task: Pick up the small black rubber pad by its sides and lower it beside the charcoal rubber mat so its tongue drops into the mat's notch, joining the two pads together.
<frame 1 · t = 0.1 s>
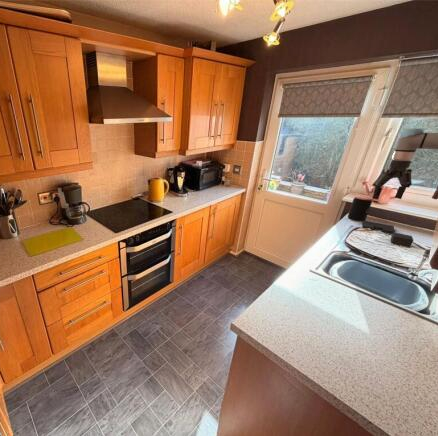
hand: (386, 198, 129), 30 cm above the worktop, tool pointing down, fingers open, 13 cm apart
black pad: (399, 243, 142), on the worktop
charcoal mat: (377, 228, 163), on the worktop
coffee jar: (356, 219, 180), on the worktop
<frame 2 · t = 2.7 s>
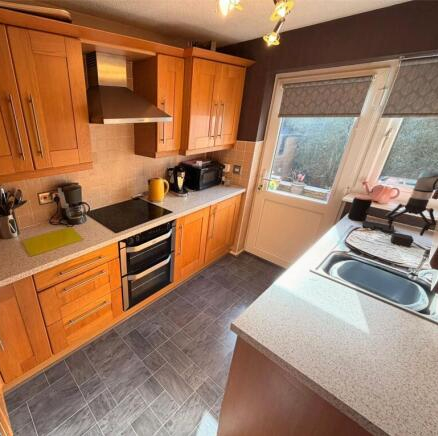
hand: (404, 231, 139), 8 cm above the worktop, tool pointing down, fingers open, 13 cm apart
nothing on the worktop moved.
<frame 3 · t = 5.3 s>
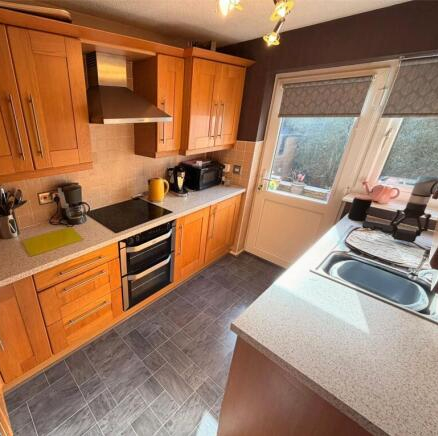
hand: (403, 238, 140), 4 cm above the worktop, tool pointing down, fingers closed on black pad, 8 cm apart
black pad: (402, 238, 140), point 3 cm above the worktop, touching gripper
everything else where it was.
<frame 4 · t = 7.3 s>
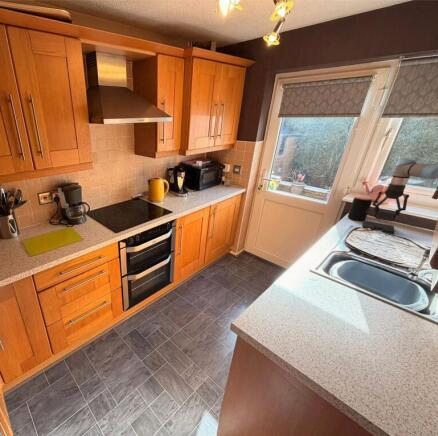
hand: (383, 217, 151), 11 cm above the worktop, tool pointing down, fingers closed on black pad, 8 cm apart
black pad: (383, 218, 151), point 11 cm above the worktop, touching gripper
everything else where it was.
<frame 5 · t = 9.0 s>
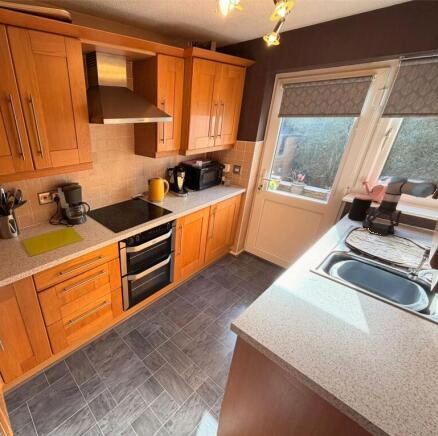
hand: (377, 232, 155), 0 cm above the worktop, tool pointing down, fingers closed on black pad, 8 cm apart
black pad: (377, 233, 156), on the worktop, touching gripper
everything else where it was.
when the fingers open (0 cm above the worktop, at t = 9.7 s): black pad stays where it is, on the worktop.
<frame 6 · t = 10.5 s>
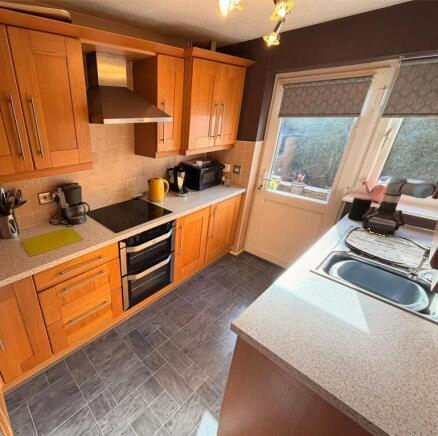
hand: (378, 231, 155), 1 cm above the worktop, tool pointing down, fingers open, 13 cm apart
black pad: (377, 233, 156), on the worktop
everything else where it was.
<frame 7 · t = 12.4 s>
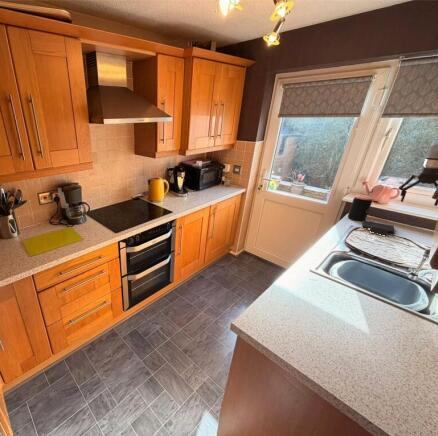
hand: (418, 203, 138), 24 cm above the worktop, tool pointing down, fingers open, 13 cm apart
nothing on the worktop moved.
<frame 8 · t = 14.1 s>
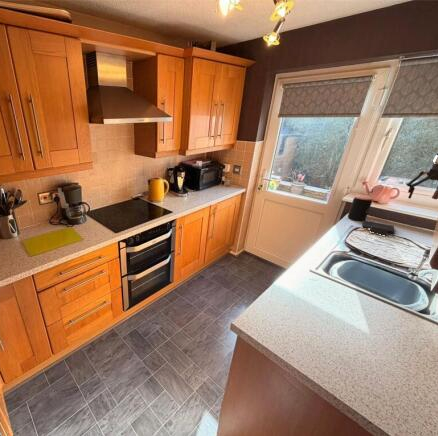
hand: (426, 200, 135), 27 cm above the worktop, tool pointing down, fingers open, 13 cm apart
nothing on the worktop moved.
at the end: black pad 0.3 cm from the target spot on the worktop beside the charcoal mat, on the worktop; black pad tilted 0°; the gripper is holding nothing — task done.
